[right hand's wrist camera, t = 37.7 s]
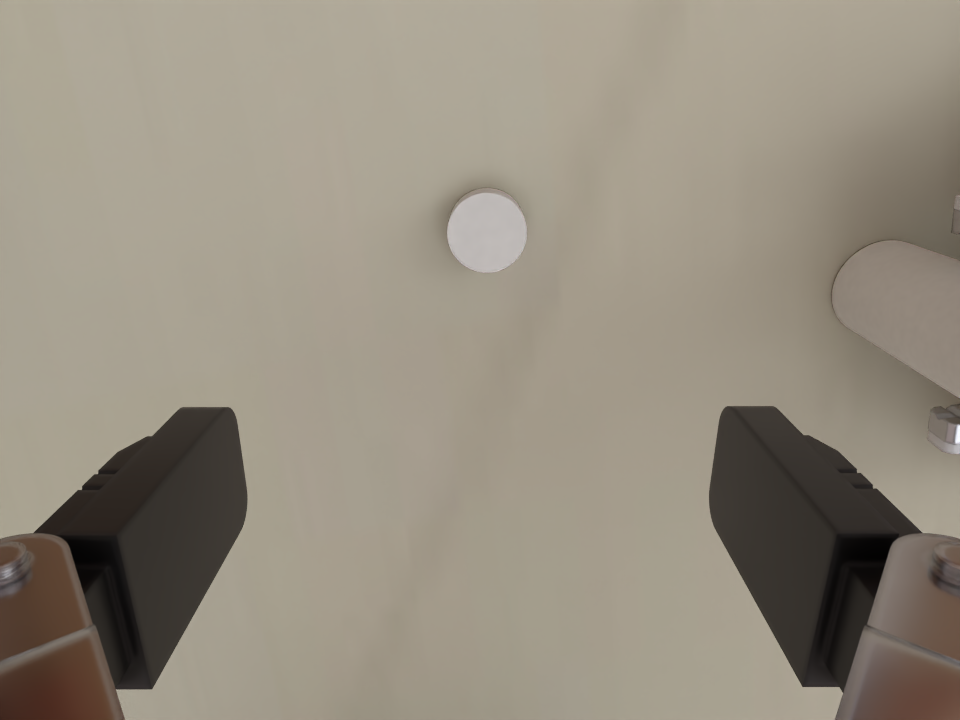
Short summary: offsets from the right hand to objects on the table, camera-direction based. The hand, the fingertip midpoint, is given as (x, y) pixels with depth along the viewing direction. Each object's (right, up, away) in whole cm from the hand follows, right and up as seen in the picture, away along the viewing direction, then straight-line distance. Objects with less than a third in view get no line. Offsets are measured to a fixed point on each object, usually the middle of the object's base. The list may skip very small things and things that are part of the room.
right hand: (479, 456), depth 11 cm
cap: (0, +8, +20) cm, 21 cm away
